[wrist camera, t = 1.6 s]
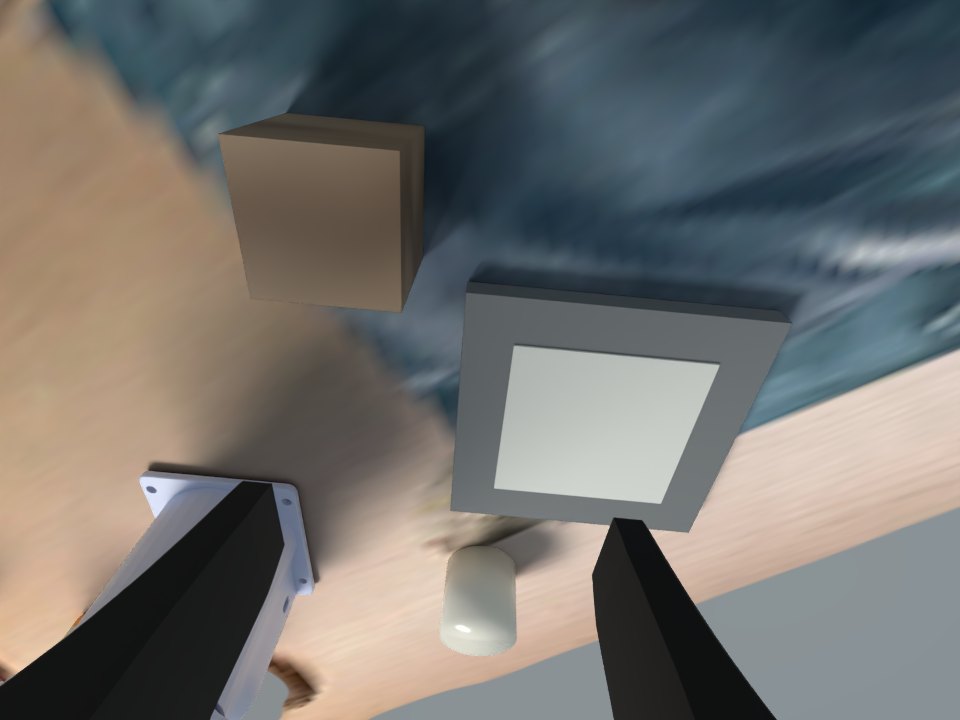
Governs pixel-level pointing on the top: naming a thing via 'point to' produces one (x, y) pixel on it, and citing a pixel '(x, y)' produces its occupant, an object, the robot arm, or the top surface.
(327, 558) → the top surface
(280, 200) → the walnut block
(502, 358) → the mat
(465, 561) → the white capsule cylinder
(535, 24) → the top surface
